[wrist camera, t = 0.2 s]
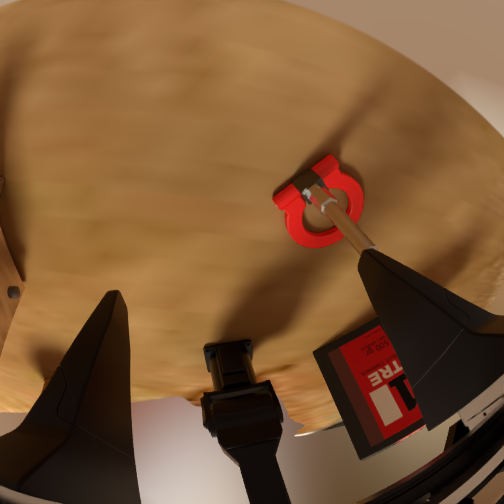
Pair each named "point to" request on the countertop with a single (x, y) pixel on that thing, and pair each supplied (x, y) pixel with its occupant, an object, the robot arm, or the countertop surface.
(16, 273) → the door
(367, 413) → the cleaning product box
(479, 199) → the countertop surface
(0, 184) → the frame
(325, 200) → the tow hook
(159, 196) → the countertop surface
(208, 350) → the robot arm
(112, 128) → the countertop surface
